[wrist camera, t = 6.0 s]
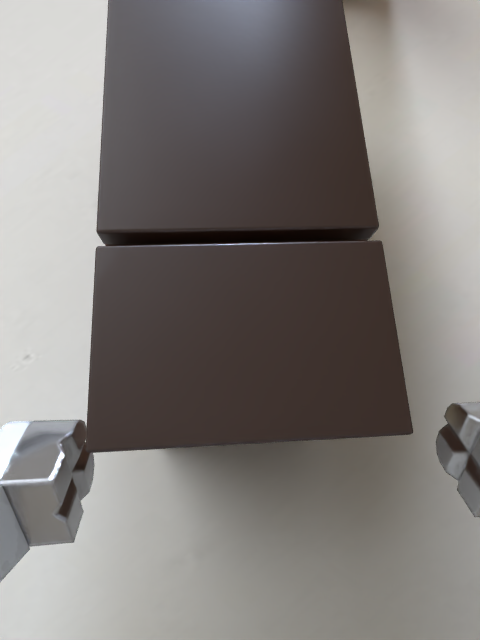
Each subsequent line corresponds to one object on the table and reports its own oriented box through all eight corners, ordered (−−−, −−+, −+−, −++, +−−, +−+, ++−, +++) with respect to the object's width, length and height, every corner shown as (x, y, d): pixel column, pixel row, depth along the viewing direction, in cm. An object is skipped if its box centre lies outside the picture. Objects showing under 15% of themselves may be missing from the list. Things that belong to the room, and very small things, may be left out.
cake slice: (311, 432, 15) (414, 434, 7) (154, 440, 15) (84, 453, 7) (302, 331, 16) (382, 239, 8) (155, 337, 16) (95, 245, 8)
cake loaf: (301, 325, 16) (380, 227, 8) (155, 330, 16) (95, 232, 8) (281, 126, 19) (328, -91, 11) (156, 125, 19) (112, -99, 11)
